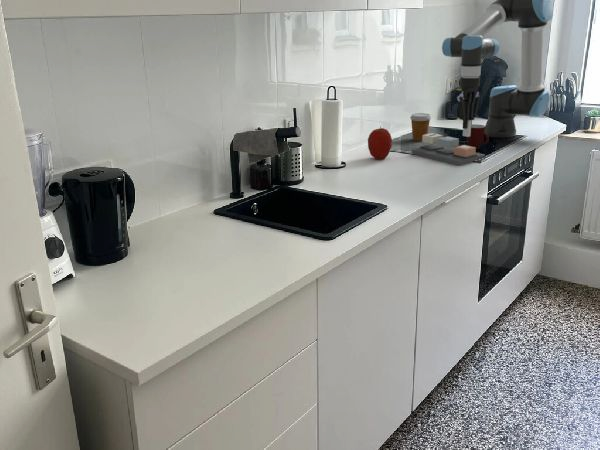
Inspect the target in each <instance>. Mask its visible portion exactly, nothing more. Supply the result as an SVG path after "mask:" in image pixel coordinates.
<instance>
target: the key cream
mask: <svg viewBox="0 0 600 450" xmlns="http://www.w3.org/2000/svg"><path fill="white" fill-rule="evenodd" d="M443 137H444V136H443V135H442V134H438V133H434V132H431V133H430V132H429V133H427V134H425V135H423V136H422V141H421V142H423V143H425V144H428V145H430V144H433V145H435V144H438V138H443Z"/></svg>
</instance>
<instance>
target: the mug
mask: <svg viewBox="0 0 600 450" xmlns="http://www.w3.org/2000/svg"><path fill="white" fill-rule="evenodd" d="M485 127H486V126H485V124H484V125H483V124H476V123H475V124H472V126H471V135H470V136H469V137H466V143H467V146H472V147H476V150H479V149H480V148H481V146H482V145H486V144H488V143H489V140H490V137H489V136H488V134H486V133H485ZM484 138H485V141H484Z"/></svg>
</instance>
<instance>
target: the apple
mask: <svg viewBox="0 0 600 450" xmlns="http://www.w3.org/2000/svg"><path fill="white" fill-rule="evenodd" d="M392 141H393V138H392V136H391V133H390V132H389V130H388V129H386V128H384V127H383V128H382V127H381V126H379V128H376V129H373V130H372V131H371V132H370V133H369V135H368V138H367V148H368V152H369V153H370V156H371V157H372V158H374V159H376V160H385V159H386V158H387V157H388V156H389V154H390V151H391V149H392V143H393V142H392Z"/></svg>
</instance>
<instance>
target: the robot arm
mask: <svg viewBox="0 0 600 450" xmlns="http://www.w3.org/2000/svg"><path fill="white" fill-rule="evenodd" d="M553 13H554V3H553V0H495V1H493V2H492V3H491V4H490V5H489V6H487V8H486V9H485V12H484V13H482V14H481V15H480V16H478V18H477V19H476V20H474V21H473V22H472V23H471V24H469V25H468V26H467V27H466V28H465V29H463V30H462V31H461V32H460V33H459V34H458V35H456V36H455V37H447V38H444V40H443V41H442V44H441V51H442V54H443V56H445V57H448V58H449V57H450V58H461V63H460V67H461V68H460V76H461V77H460V79H459V80H460V81H459V87H460V88H461V90H460V94H459V95H457V96H455V100H456V102H457V111H458V119H459V120H462V137H466V138H467V137H469V136H470V135H471V126H472V123H473V121H475V118H477V114H478V110H479V104H480V101H481V100H480V99H481V98H482V95H483V93H482V92H479V87H480V86H481V77H480V76H481V75H482V74H481V71H482V60H484V59H491V58H492V57H495V56H496V55H498V53H499V50H500V43H499V42H498V40H497V39H496V38H493V37H486V38H484V37H485V36H486V35H488V33H490V32H491V31H492V30H493V29H494V28H495V27H498V26H501V25H502V24H504V23H506V22H517V23H518V24H517V27H518V29H520V31H521V57H520V60H521V61H520V62H521V64H520V65H521V66H520V68H521V69H520V84H519V85H500V86H496V87H493V88H491V91H490V95H489V108H488V118H487V121H486V123H485V124H484V126H486V127H485V133H486V134H488V136H489V138H502V139H504V138H505V137H507V138H513V136H514V137H516V135H517V129H516V123H515V115H517V116H522V117H523V116H524V117H530V118H532V117H534V118H539V117H542V116H543V115H544V113H545V112H546V110H548V107H549V103H550V98H551V97H550V93H549V91H545V89H546V88H545V84H544V83H542V73H543V72H542V68H543V67H542V66H543V65H542V64H543V44H544V43H543V41H544V40H543V38H544V37H543V35H544V34H543V33H544V28H546V27H547V25H548V22H549V21H550V20H551V19H552V17H553Z"/></svg>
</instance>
